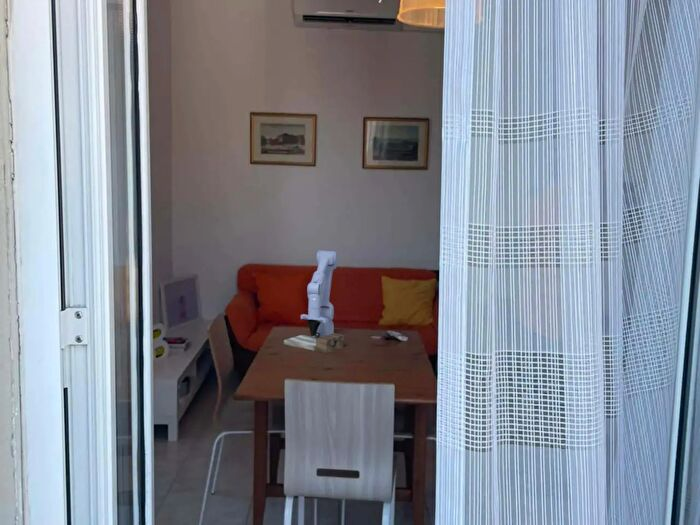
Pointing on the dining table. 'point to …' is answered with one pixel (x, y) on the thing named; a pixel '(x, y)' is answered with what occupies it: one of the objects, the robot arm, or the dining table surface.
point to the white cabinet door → (317, 342)
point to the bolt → (319, 336)
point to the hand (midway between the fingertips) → (313, 335)
